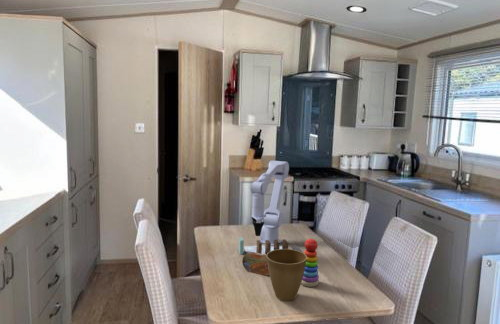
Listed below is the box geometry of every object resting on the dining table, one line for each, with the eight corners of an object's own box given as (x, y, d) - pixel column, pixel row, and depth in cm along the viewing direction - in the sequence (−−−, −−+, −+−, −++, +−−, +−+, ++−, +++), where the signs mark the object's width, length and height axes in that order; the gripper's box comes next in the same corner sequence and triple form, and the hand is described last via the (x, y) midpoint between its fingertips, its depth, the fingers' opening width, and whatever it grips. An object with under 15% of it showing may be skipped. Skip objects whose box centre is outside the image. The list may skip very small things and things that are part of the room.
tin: (241, 270, 165) (242, 251, 164) (245, 267, 168) (245, 249, 167) (273, 277, 158) (273, 258, 157) (276, 274, 161) (276, 256, 160)
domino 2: (258, 257, 179) (258, 243, 178) (256, 254, 184) (256, 240, 183) (261, 257, 180) (261, 243, 179) (259, 254, 184) (259, 240, 183)
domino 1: (240, 254, 183) (240, 240, 182) (238, 250, 188) (239, 237, 187) (243, 254, 183) (243, 240, 183) (241, 250, 188) (242, 237, 187)
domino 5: (284, 256, 181) (284, 242, 181) (281, 253, 186) (282, 239, 185) (287, 256, 182) (288, 242, 181) (285, 253, 186) (285, 239, 186)
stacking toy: (295, 282, 154) (296, 238, 152) (308, 277, 159) (310, 234, 157) (309, 289, 148) (312, 243, 146) (322, 283, 153) (325, 239, 151)
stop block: (295, 257, 181) (296, 251, 181) (291, 251, 188) (292, 246, 188) (301, 256, 182) (302, 251, 181) (297, 251, 189) (297, 246, 188)
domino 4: (275, 257, 181) (276, 243, 180) (273, 253, 185) (273, 239, 185) (279, 257, 181) (279, 243, 180) (276, 253, 186) (277, 239, 185)
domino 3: (267, 257, 180) (267, 243, 179) (264, 253, 185) (265, 240, 184) (270, 257, 180) (270, 243, 179) (268, 253, 185) (268, 240, 184)
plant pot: (280, 284, 152) (281, 245, 150) (312, 295, 143) (314, 255, 141) (257, 297, 141) (258, 256, 139) (290, 310, 131) (292, 267, 129)
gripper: (267, 210, 175) (266, 238, 177) (265, 202, 190) (264, 229, 191) (252, 209, 175) (251, 238, 177) (251, 202, 190) (250, 228, 191)
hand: (257, 233), depth 184 cm, fingers open, 7 cm apart
